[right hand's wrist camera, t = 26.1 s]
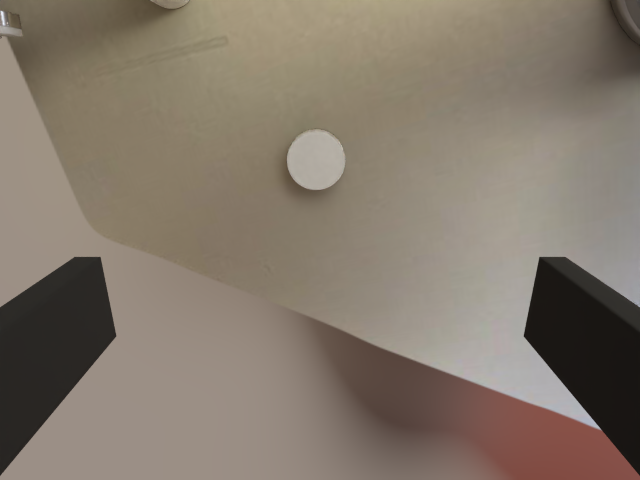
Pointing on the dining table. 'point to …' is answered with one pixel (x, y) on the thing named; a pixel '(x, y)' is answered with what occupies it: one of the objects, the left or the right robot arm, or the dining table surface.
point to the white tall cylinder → (170, 3)
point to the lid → (316, 159)
